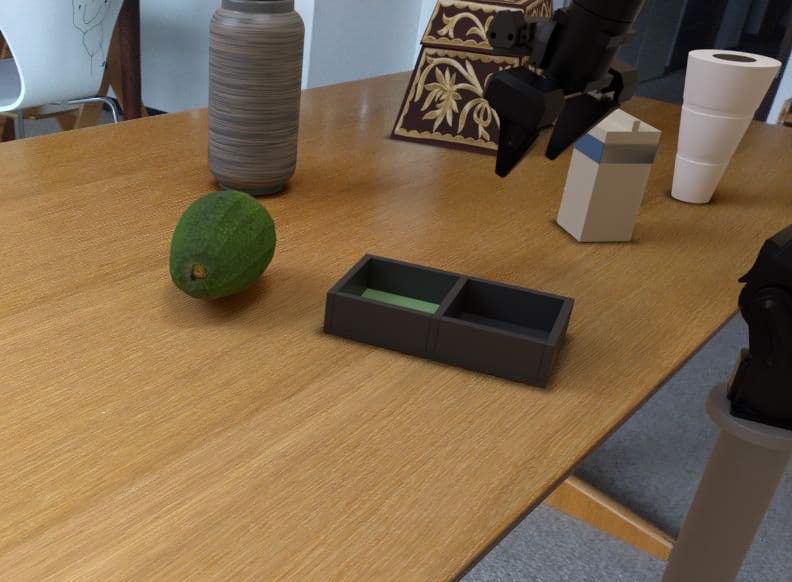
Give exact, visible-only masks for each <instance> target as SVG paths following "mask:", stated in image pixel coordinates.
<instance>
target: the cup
mask: <svg viewBox="0 0 792 582" xmlns="http://www.w3.org/2000/svg"><path fill="white" fill-rule="evenodd" d="M686 63H687V65H686V72H685V79H684V87H683V96H682V99H683V104H682V106H681V113H680V114H681V115H680V123H679V128H678V129H679V131H678V137H677V138H678V139H677V147H676V148H677V152H676V155H675V162H674V169H673V170H674V171H673V177H672V179H673V180H672V187H671V192H670V193H671V194H670V195H671V197H673V198H674V199H676V200H678V201H682V202H685V203H690V204H706V203H709V202H710V200H711V198H712V197H713V194H714V192H715V191H716V189H717V186H718V185H719V183H720V181H721V179H722V177H723V176H724V174H725V172H726V170H727V169H728V166H729V164H730V161H731V159H732V157H733V156H734V154H735V153H736V150H737V149H738V147H739V145H740V143H741V141H742V140H743V138H744V136H745V134H746V132H747V131H748V128H749V126H750V124H751V122H752V121H753V119H754V117H755V113H756V111H758V109H759V108H760V106H761V104H762V102H763V100H764V98H765V96H766V94H767V93H768V90H769V89H770V87H771V85H772V83H773V82H774V79H775V77H776V75H777V74H778V71H779V69H780V68H781V67H782V62H781V61H780V60H778V59H775V58H773V57H770V56H769V57H768V56H765V55H762V54H761V55H760V54H755V53H750V52H745V51H736V50H725V49H694V50H691V51H689V52H688V56H687V62H686Z"/></svg>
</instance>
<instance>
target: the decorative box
mask: <svg viewBox="0 0 792 582" xmlns="http://www.w3.org/2000/svg"><path fill="white" fill-rule="evenodd" d="M507 9H509V10H511V11H517V10H522V12H523V14H524V15H527V16H541V17H551V15H552V13H553V12H554V11H555V9H554V0H437V2H436V4H435V6H434V8H433V11H432V13H431V16H430V18H429V20H428V22H427V25H426V28H425V29H424V32H423V34H422V37H421V39H420V40H419V41H420V42H419V45H421V46H420V50H419V53H418V56H417V57H416V61H415V64H414V67H413V69H412V73H411V76H410V78H409V81H408V84H407V87H406V90H405V93H404V95H403V99H402V102H401V104H400V107H399V110H398V113H397V116H396V119H395V122H394V125H393V128H392V130H391V133H390V136H389V139H391V140H397V141H398V140H399V141H403V142H409V143H410V142H411V143H416V144H422V145H429V146H435V147H442V148H449V149H454V150H455V149H456V150H460V151H461V150H462V151H465V152H466V151H467V152H471V153H472V152H473V153H478V154H484V155H490V156H495V157H497V149H498V140H499V124H500V122H499V118H498V116H497V113H496V111H495V110H493V109H492V108H491V107H490V106H489V105H488V101H486V100H485V99H483V97H482V92H483V90H484V88H485V85H486V83H487V81H488V78H489V76H490V75H491V74H494V73H496V72H498V71H501V70H504V69H509V68H513V67H518V66H525V67H526V68H528V69H530V70H532V71H533V72H535V73H537V74H538V75H540V76H542V77H544V76H543V75H542V73H543V70H541V69H536V68H534V67H532V66H530V65H529V64H527V62H528V59H529V57H530V56H519V55H510V54H503V55H502V56H498V55H493V54H492V50H493V47H491V46H490V44H489V43H488V39H487V38H486V31H487V30H488V29H490V26H491V22H492V20H494V18H495V16H496V15H497V13H498V11H500V10H507ZM544 78H546V77H544Z"/></svg>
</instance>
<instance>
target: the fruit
mask: <svg viewBox="0 0 792 582" xmlns="http://www.w3.org/2000/svg"><path fill="white" fill-rule="evenodd" d="M277 240H278V239H277V232H276V226H275V221H274V219H273V217H272V216H271V214H270V213H269V211H268V209H267V208H266V207H265V206H263V204H261V202H259V201H258V199H256V198H254V197H253V195H249V194H246V193H242V192H239V191H235V190H229V191H226V190H215V191H214V190H213V191H211V192H209V193H206V194H204V195H202V196H200V197H198V198H197V199H196V200H194V201H193V202H192V203H191V204H190V205H189V206H188V207H187V208H186V209H185V210H184V211H183V212H182V214H181V215H180V218H179V220H178V221H177V223H176V226H175V228H174V232H173V235H172V237H171V243H170V249H169V260H168V261H169V262H168V263H169V264H168V266H169V267H168V268H169V269H168V270H169V275H170V277H171V282H172V283H173V284H174V285H175V287H176V288H178V289H179V290H181V291H182V292H183V293H184V294H186V295H187V296H188V297H191V298H194V299H196V300H202V301H213V300H217V299H222V298H227V297H231V296H235V295H238V294H240V293H242V292H243V291H245V290H247V289H248V288H250V287H252V286H253V285H255V284H256V282H257V281H259V279H261V278H262V276H263V275H264V273H265V271H266V270H267V269H268V267H269V265H270V264H271V262H272V260H273V258H274V255H275V252H276V251H275V250H276V244H277Z"/></svg>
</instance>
